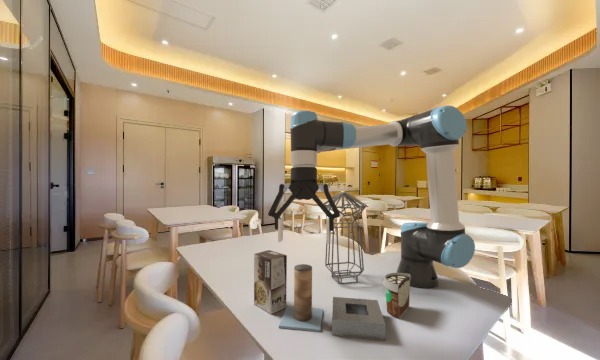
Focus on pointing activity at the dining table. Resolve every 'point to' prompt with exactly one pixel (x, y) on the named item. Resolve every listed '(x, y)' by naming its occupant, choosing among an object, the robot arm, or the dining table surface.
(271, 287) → the coffee box
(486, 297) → the dining table surface
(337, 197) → the geometric lantern
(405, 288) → the food container
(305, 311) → the wooden cylinder
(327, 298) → the dining table surface
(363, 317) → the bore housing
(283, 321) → the light blue square plate
